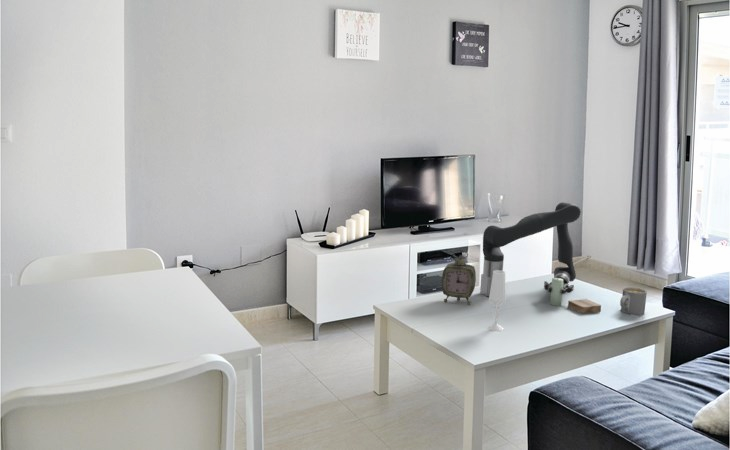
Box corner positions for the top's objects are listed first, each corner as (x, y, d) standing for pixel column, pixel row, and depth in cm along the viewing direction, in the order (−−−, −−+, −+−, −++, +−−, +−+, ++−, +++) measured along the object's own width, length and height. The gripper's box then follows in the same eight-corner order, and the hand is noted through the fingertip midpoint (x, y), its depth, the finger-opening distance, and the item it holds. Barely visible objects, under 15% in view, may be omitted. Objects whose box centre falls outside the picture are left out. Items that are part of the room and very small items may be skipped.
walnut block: (582, 313, 295) (583, 307, 295) (567, 307, 304) (568, 300, 304) (600, 311, 299) (601, 305, 298) (585, 305, 308) (586, 298, 307)
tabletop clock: (440, 303, 305) (443, 250, 300) (444, 297, 314) (446, 245, 309) (472, 306, 301) (475, 253, 296) (474, 301, 310) (478, 248, 305)
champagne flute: (507, 329, 273) (511, 272, 268) (495, 332, 269) (499, 274, 264) (495, 324, 278) (498, 268, 274) (483, 327, 274) (487, 271, 270)
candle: (554, 306, 304) (556, 279, 302) (547, 303, 309) (550, 276, 306) (563, 305, 306) (565, 278, 304) (556, 302, 311) (558, 275, 308)
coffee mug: (633, 307, 307) (635, 286, 305) (649, 313, 298) (651, 292, 296) (609, 309, 302) (612, 288, 301) (625, 316, 293) (627, 294, 291)
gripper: (546, 272, 321) (540, 281, 306) (576, 276, 316) (573, 285, 300) (544, 287, 323) (539, 297, 307) (575, 291, 317) (571, 301, 302)
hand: (556, 291), depth 304 cm, fingers closed on candle, 5 cm apart
